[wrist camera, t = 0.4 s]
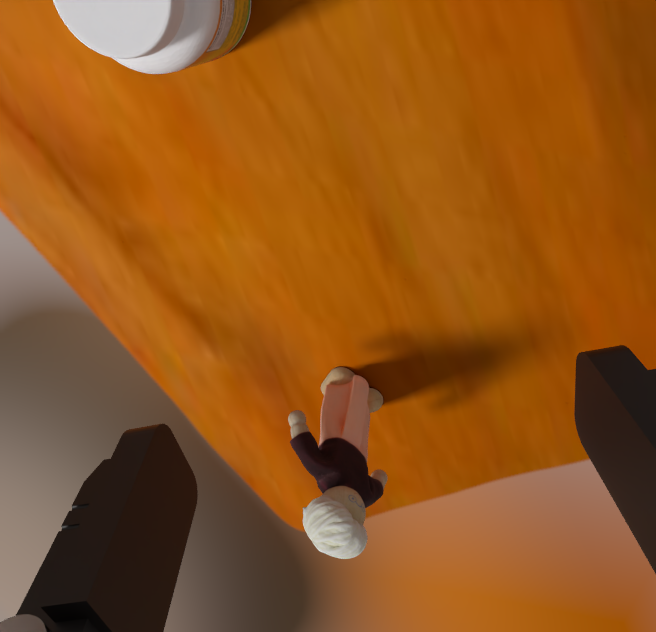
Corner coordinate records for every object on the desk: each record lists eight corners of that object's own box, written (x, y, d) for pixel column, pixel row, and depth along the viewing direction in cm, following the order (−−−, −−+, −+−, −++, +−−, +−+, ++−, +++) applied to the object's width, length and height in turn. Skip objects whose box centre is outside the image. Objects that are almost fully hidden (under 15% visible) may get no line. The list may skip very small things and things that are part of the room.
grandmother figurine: (407, 394, 36) (425, 562, 25) (376, 428, 37) (379, 599, 26) (312, 341, 34) (286, 496, 23) (284, 380, 36) (247, 541, 25)
